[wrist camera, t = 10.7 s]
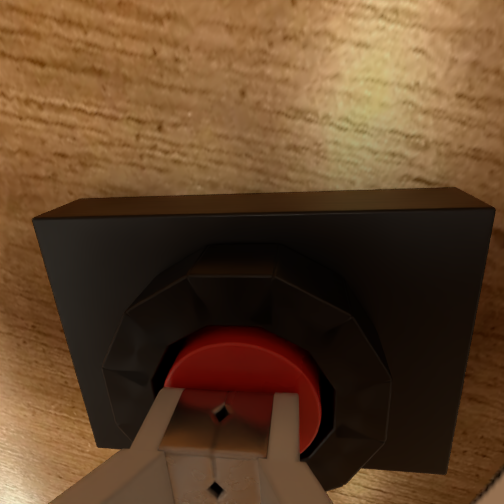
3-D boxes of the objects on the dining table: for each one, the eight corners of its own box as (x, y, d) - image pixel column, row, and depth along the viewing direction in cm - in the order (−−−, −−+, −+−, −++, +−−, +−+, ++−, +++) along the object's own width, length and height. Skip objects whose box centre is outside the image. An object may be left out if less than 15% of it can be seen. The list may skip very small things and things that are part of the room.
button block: (457, 186, 10) (551, 234, 6) (424, 417, 13) (473, 544, 9) (78, 198, 11) (-30, 241, 8) (126, 400, 14) (63, 502, 11)
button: (319, 302, 9) (323, 346, 7) (318, 417, 10) (321, 476, 8) (176, 300, 9) (149, 340, 8) (192, 410, 11) (173, 464, 9)
